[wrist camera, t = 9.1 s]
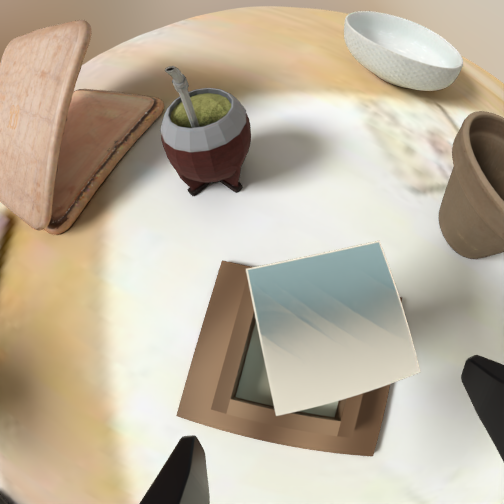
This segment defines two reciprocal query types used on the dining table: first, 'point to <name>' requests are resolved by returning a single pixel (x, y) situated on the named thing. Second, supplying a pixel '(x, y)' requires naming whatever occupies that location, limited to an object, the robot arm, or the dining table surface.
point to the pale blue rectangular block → (330, 326)
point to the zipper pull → (3, 500)
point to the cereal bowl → (401, 51)
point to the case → (60, 127)
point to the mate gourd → (205, 135)
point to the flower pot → (476, 188)
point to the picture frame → (264, 384)
